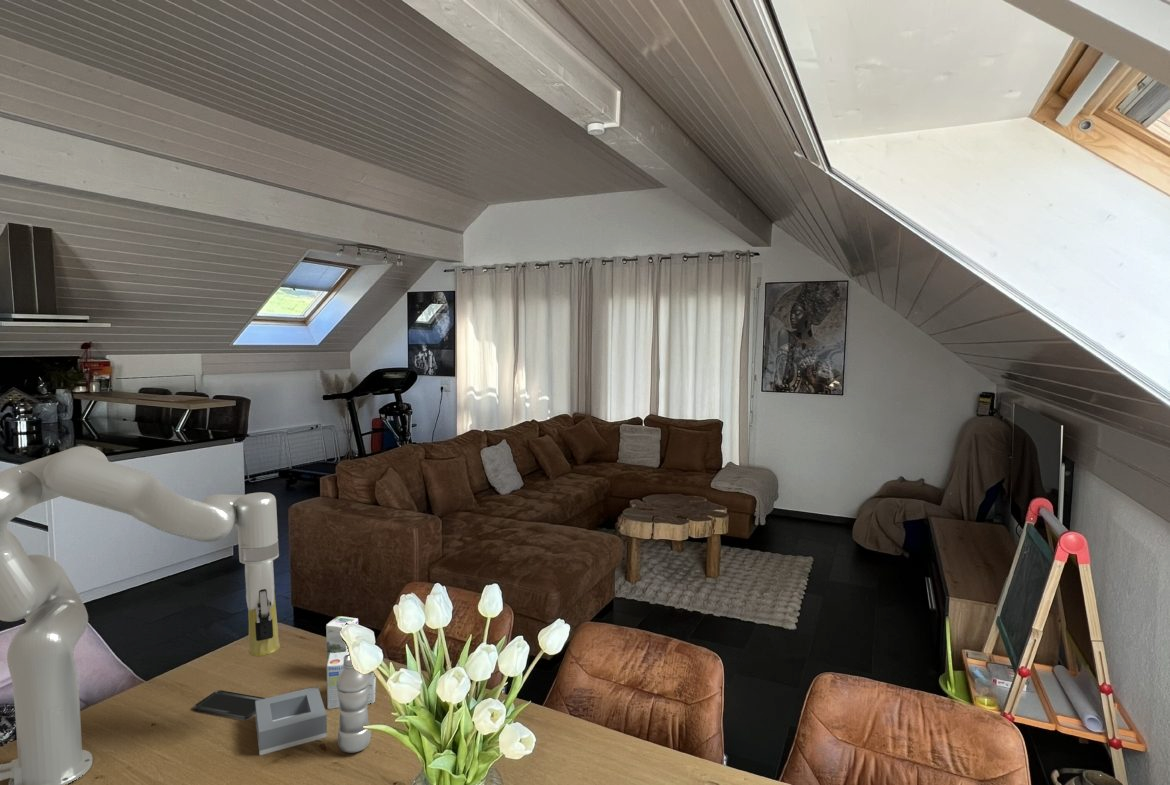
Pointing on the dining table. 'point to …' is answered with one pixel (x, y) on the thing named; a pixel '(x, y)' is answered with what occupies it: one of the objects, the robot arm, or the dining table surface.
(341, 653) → the light bulb box
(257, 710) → the socket block
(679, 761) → the dining table surface
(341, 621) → the syrup box
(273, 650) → the vase
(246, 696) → the phone
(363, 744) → the plastic bottle
